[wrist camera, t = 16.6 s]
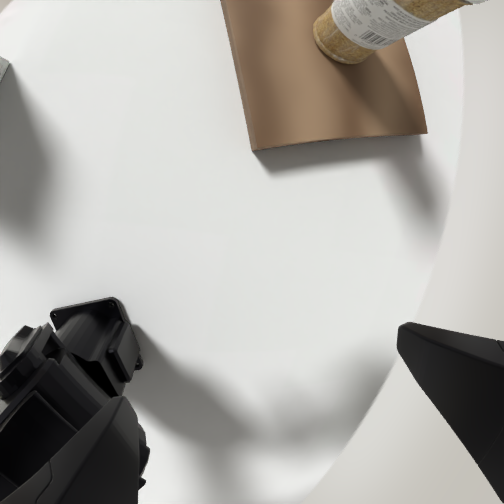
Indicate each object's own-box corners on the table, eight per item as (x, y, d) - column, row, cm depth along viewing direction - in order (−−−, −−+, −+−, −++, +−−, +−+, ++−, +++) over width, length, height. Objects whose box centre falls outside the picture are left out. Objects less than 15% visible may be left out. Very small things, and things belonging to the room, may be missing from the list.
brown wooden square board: (251, 151, 19) (257, 148, 17) (218, -11, 15) (219, -25, 13) (412, 135, 20) (427, 133, 18) (373, -3, 16) (383, -12, 14)
